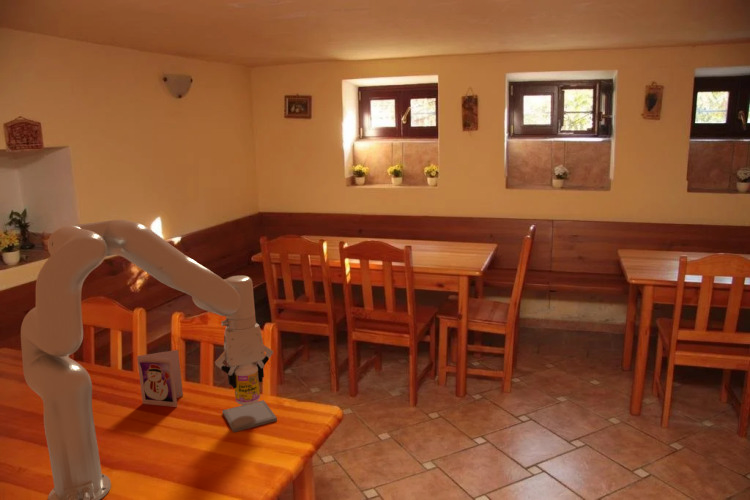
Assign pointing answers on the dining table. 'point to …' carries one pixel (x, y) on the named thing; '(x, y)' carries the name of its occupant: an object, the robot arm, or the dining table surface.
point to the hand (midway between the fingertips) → (246, 382)
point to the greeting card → (160, 378)
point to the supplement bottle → (247, 384)
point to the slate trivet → (249, 416)
